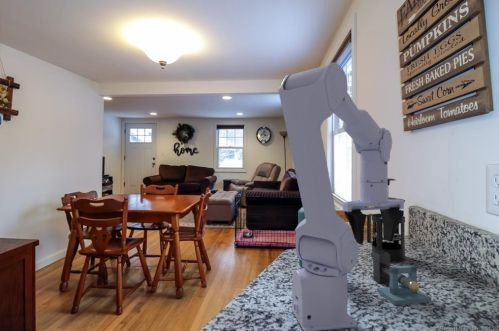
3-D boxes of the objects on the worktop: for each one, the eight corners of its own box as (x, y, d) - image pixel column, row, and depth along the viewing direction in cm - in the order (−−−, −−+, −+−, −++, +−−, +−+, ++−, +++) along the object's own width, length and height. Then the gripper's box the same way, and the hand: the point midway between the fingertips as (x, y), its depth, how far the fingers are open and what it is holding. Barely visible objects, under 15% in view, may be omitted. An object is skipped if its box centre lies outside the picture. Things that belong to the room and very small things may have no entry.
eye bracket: (431, 301, 60) (431, 270, 59) (394, 304, 58) (394, 273, 58) (411, 289, 66) (411, 261, 65) (377, 291, 64) (377, 263, 64)
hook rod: (422, 304, 58) (422, 270, 58) (410, 305, 58) (410, 271, 58) (383, 278, 71) (383, 250, 71) (373, 278, 71) (373, 251, 71)
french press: (415, 258, 86) (414, 178, 85) (397, 265, 80) (397, 180, 80) (377, 248, 95) (377, 177, 95) (359, 254, 90) (358, 178, 90)
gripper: (355, 183, 62) (355, 249, 62) (414, 182, 65) (414, 243, 66) (337, 181, 69) (337, 240, 69) (391, 180, 72) (391, 236, 72)
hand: (373, 241), depth 68 cm, fingers open, 7 cm apart
